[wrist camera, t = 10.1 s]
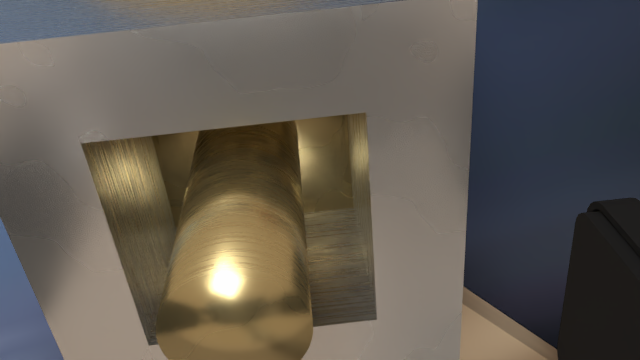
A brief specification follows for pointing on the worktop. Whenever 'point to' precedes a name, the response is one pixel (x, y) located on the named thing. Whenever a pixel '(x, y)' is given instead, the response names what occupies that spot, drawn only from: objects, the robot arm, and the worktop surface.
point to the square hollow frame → (231, 111)
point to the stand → (497, 335)
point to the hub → (246, 235)
